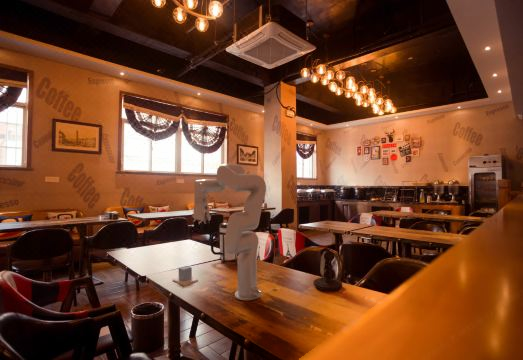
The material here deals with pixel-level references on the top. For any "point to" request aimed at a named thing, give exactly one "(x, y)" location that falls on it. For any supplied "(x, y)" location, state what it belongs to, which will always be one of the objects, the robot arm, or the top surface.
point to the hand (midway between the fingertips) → (201, 229)
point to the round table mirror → (327, 272)
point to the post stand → (185, 281)
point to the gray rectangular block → (185, 273)
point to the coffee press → (222, 244)
